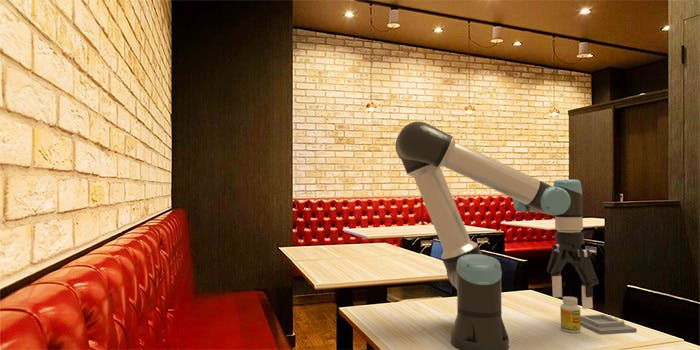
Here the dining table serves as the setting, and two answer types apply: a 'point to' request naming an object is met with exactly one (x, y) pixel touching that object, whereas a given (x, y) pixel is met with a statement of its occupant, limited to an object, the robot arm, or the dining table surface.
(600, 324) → the socket board
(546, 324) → the dining table surface
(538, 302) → the dining table surface
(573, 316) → the supplement bottle
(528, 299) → the dining table surface
